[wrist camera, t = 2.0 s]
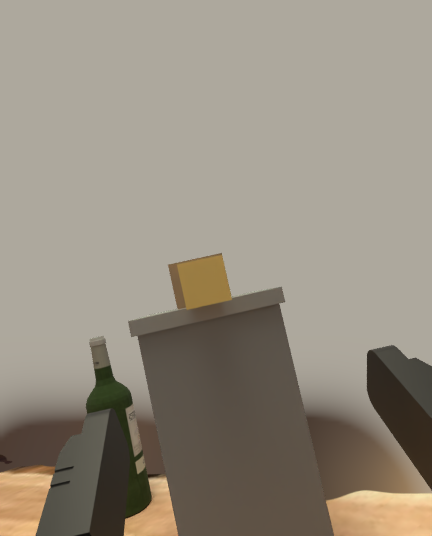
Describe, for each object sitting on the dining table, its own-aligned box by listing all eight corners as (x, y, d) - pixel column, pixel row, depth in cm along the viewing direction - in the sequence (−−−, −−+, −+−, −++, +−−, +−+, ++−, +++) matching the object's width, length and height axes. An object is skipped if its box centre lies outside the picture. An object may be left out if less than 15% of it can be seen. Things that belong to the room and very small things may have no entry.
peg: (251, 295, 26) (235, 225, 26) (166, 314, 25) (151, 243, 26) (227, 297, 47) (218, 259, 47) (180, 308, 46) (171, 269, 47)
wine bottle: (160, 500, 65) (125, 331, 67) (117, 526, 60) (82, 342, 62) (139, 488, 71) (108, 333, 73) (100, 510, 66) (68, 344, 68)
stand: (363, 632, 34) (281, 286, 36) (201, 681, 33) (128, 321, 35) (307, 521, 51) (254, 291, 53) (199, 551, 49) (150, 314, 52)
